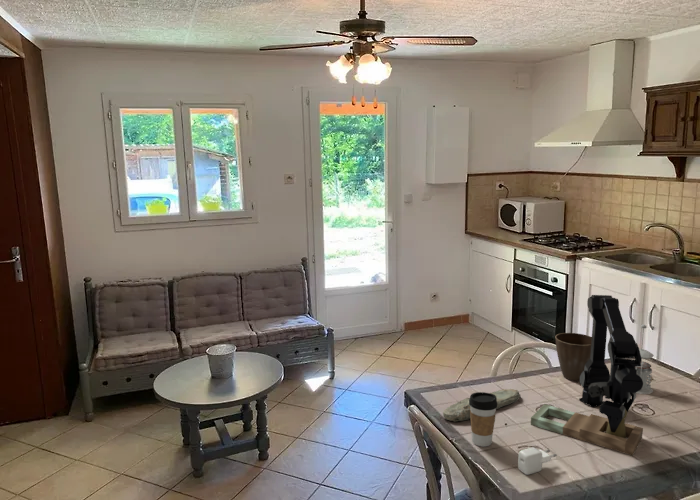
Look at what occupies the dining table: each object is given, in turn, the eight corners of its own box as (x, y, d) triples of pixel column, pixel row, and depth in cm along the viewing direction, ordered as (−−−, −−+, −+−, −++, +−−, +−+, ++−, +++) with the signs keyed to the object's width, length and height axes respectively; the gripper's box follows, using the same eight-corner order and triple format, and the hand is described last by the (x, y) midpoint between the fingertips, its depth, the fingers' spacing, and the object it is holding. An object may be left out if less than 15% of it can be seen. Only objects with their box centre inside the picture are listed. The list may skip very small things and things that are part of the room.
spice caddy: (642, 438, 169) (642, 428, 169) (632, 455, 160) (633, 444, 159) (544, 410, 188) (544, 401, 188) (530, 424, 179) (531, 414, 178)
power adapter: (545, 459, 158) (547, 440, 157) (558, 467, 154) (559, 448, 153) (515, 468, 154) (516, 449, 153) (527, 477, 150) (528, 457, 149)
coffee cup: (490, 451, 163) (492, 404, 160) (463, 444, 167) (465, 398, 165) (499, 439, 170) (501, 393, 167) (473, 432, 174) (474, 388, 172)
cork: (624, 437, 170) (627, 404, 168) (627, 446, 165) (630, 412, 163) (603, 434, 172) (606, 401, 170) (605, 443, 167) (608, 410, 165)
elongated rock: (527, 405, 196) (505, 396, 205) (528, 390, 196) (506, 382, 204) (456, 426, 177) (436, 416, 185) (457, 411, 177) (436, 401, 185)
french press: (654, 386, 207) (659, 323, 202) (651, 398, 197) (657, 331, 193) (625, 381, 212) (630, 319, 208) (621, 392, 202) (626, 327, 198)
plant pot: (548, 369, 224) (550, 332, 221) (584, 369, 223) (587, 332, 220) (560, 385, 209) (563, 345, 206) (600, 385, 209) (603, 345, 206)
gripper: (600, 363, 177) (597, 408, 180) (583, 382, 163) (579, 430, 166) (638, 371, 170) (634, 418, 173) (623, 391, 156) (619, 442, 159)
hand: (616, 426), depth 168 cm, fingers open, 8 cm apart
